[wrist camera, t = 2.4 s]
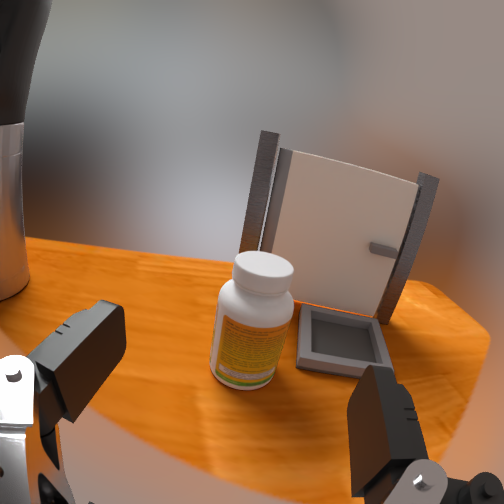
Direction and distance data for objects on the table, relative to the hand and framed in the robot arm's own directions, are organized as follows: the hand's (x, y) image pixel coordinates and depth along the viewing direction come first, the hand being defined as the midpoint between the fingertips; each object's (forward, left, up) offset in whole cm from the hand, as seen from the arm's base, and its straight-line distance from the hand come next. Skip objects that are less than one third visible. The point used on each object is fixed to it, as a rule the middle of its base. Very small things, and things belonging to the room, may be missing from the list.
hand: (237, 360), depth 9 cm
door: (+6, +23, -11) cm, 26 cm away
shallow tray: (+9, +17, -11) cm, 22 cm away
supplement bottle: (0, +11, -12) cm, 16 cm away
